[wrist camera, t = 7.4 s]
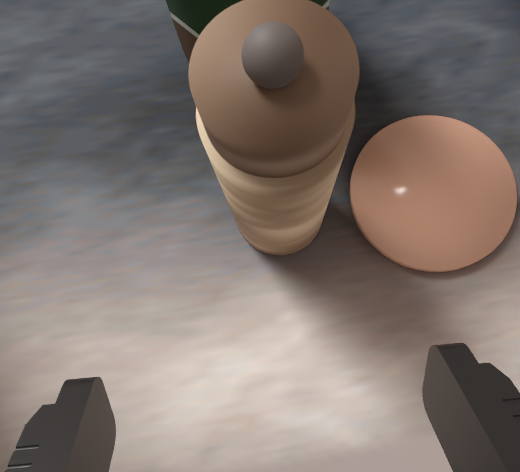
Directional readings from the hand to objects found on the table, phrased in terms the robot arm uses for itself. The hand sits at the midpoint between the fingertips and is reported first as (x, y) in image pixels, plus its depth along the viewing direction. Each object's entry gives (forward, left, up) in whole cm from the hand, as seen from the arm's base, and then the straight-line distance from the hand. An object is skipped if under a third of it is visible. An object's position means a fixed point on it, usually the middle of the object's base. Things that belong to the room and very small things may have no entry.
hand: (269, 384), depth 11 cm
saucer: (+5, +10, -11) cm, 16 cm away
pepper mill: (-2, +7, -11) cm, 13 cm away
